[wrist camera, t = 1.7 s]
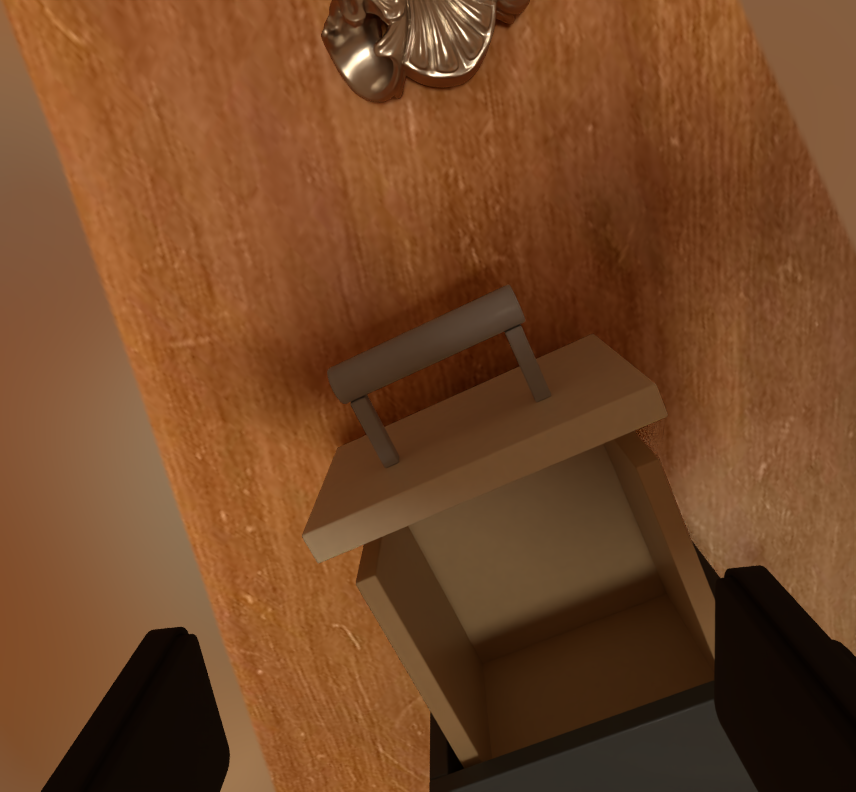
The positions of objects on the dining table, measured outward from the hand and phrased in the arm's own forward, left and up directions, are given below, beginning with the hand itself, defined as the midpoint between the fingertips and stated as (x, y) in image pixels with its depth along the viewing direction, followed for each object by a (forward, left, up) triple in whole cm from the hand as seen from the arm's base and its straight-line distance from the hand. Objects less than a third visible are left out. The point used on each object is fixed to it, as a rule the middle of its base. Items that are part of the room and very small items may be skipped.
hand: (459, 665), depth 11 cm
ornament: (-6, -14, -18) cm, 24 cm away
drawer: (-1, +5, -17) cm, 18 cm away
